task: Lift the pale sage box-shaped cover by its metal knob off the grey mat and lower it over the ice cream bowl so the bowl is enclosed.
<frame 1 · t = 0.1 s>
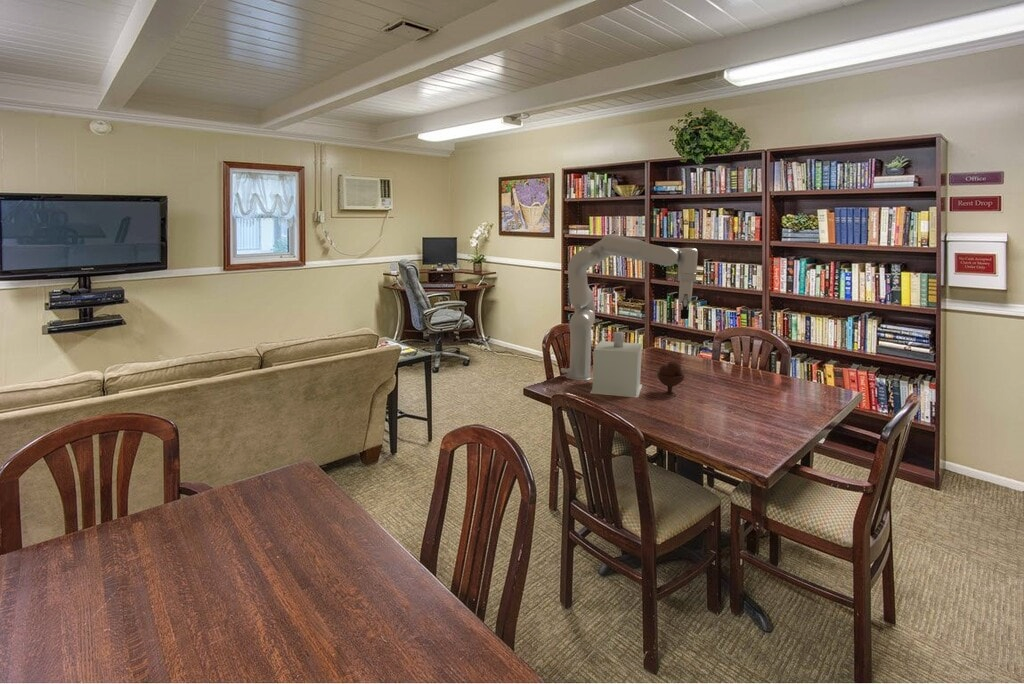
hand: (684, 317, 245), 31 cm above the table, tool pointing down, fingers open, 9 cm apart
mat: (616, 390, 246), on the table
ice cream bowl: (669, 395, 239), on the table
cover: (616, 388, 245), point 1 cm above the table, touching mat
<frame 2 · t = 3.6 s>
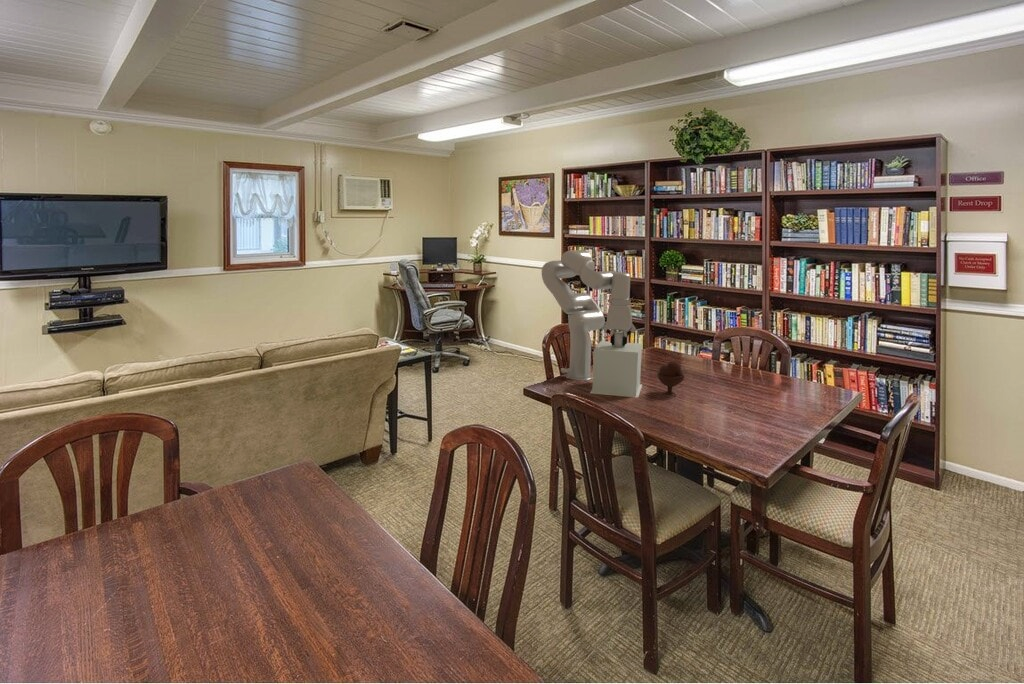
hand: (618, 344, 241), 20 cm above the table, tool pointing down, fingers closed on cover, 4 cm apart
cover: (616, 388, 245), point 1 cm above the table, touching gripper, mat
everything else where it was.
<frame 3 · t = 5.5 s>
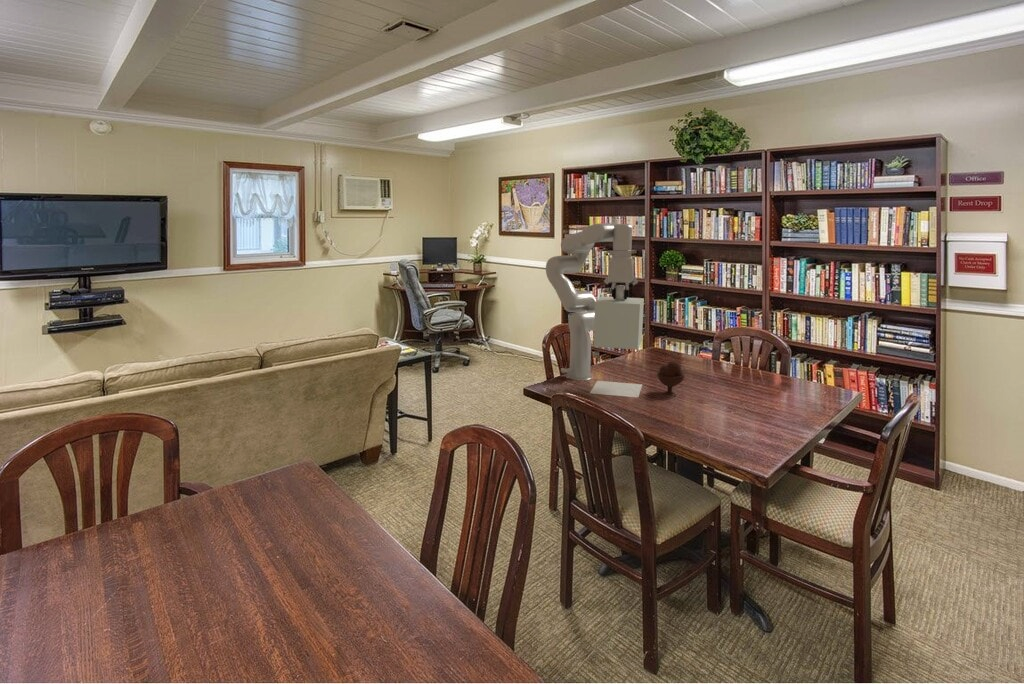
hand: (620, 298, 237), 40 cm above the table, tool pointing down, fingers closed on cover, 4 cm apart
cover: (618, 343, 241), point 21 cm above the table, touching gripper
everything else where it was.
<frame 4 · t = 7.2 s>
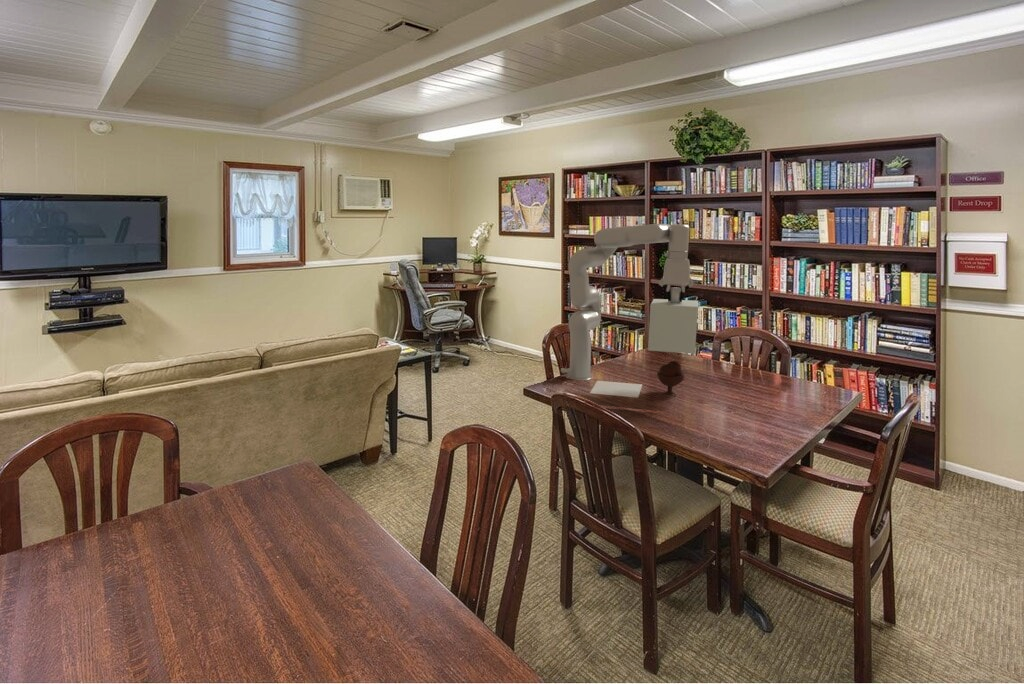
hand: (675, 301, 231), 40 cm above the table, tool pointing down, fingers closed on cover, 4 cm apart
cover: (672, 347, 235), point 21 cm above the table, touching gripper
everything else where it was.
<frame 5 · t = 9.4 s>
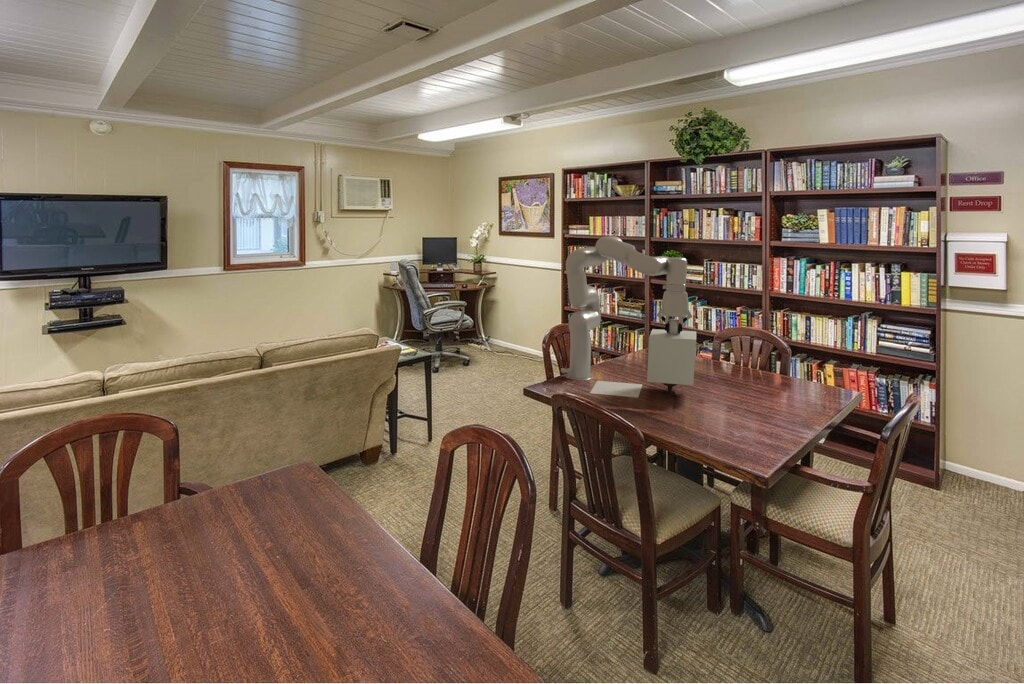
hand: (673, 332, 233), 27 cm above the table, tool pointing down, fingers closed on cover, 4 cm apart
cover: (670, 377, 237), point 8 cm above the table, touching gripper
everything else where it was.
when the fingers open (21 cm above the table, at t = 11.0 s): cover drops 2 cm, on the table.
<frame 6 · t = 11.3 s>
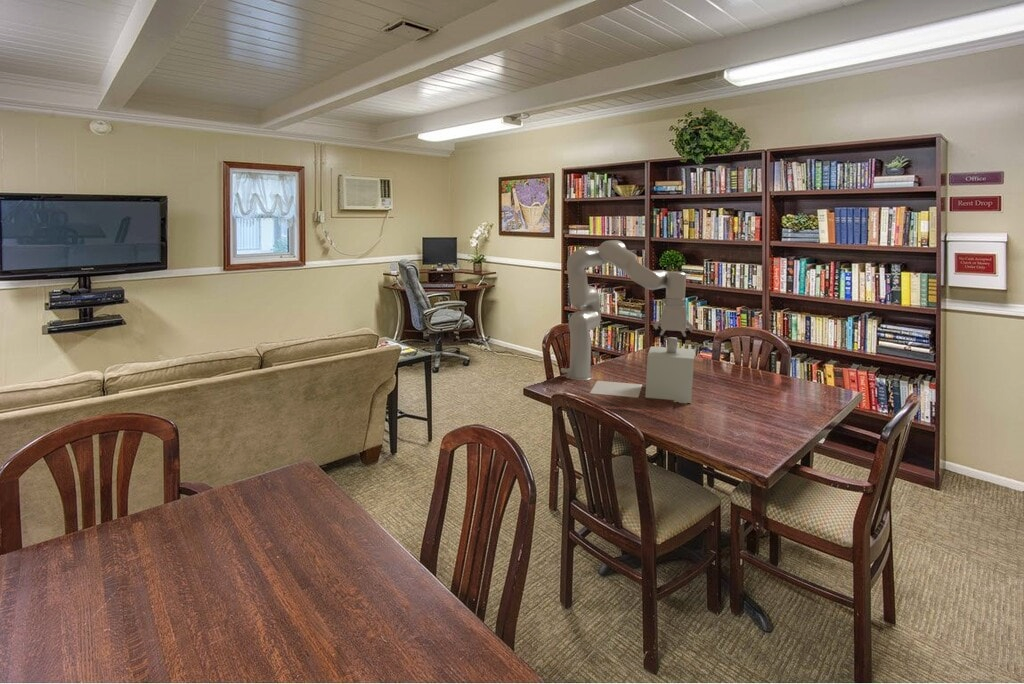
hand: (672, 344, 235), 22 cm above the table, tool pointing down, fingers open, 7 cm apart
cover: (668, 395, 239), on the table
everything else where it was.
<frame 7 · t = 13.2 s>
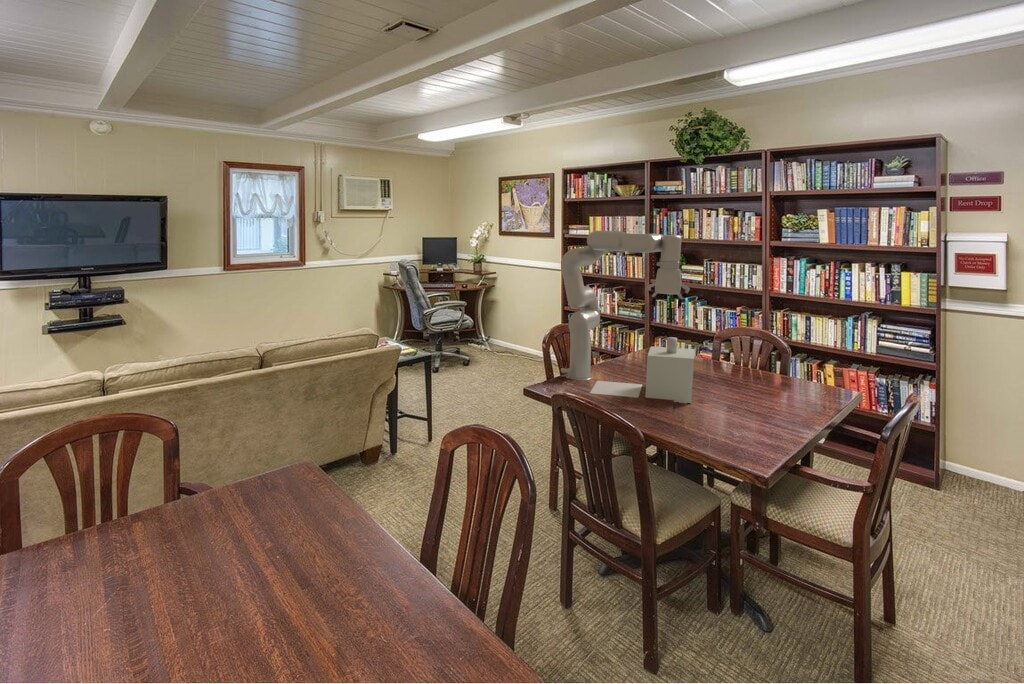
hand: (666, 307, 235), 37 cm above the table, tool pointing down, fingers open, 9 cm apart
nothing on the table moved.
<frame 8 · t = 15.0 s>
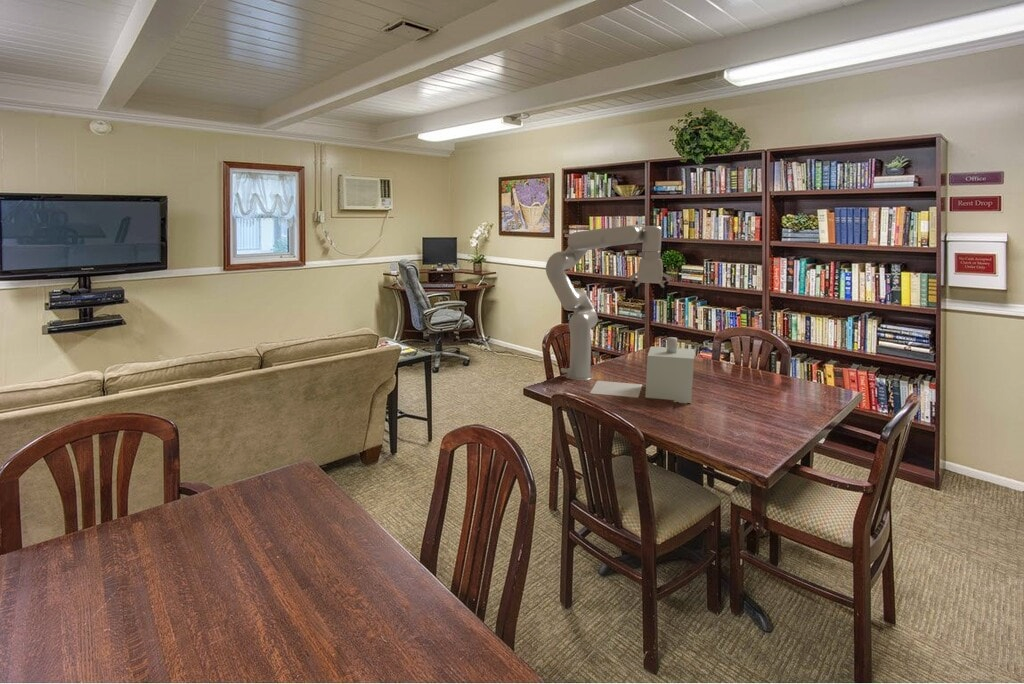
hand: (649, 296, 243), 40 cm above the table, tool pointing down, fingers open, 9 cm apart
nothing on the table moved.
at the end: cover 0.2 cm from the ice cream bowl (horizontally); cover on the table; cover tilted 0° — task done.
